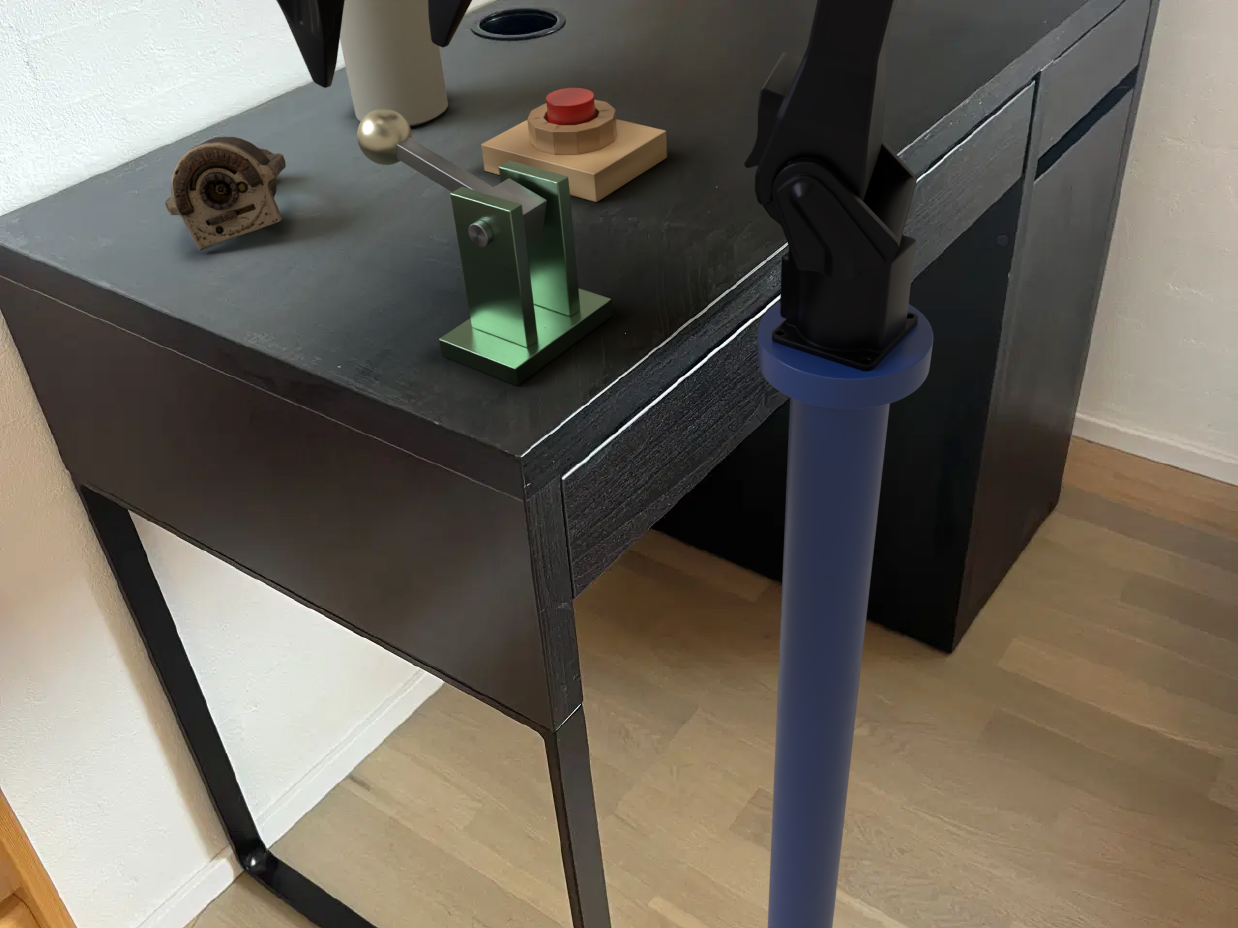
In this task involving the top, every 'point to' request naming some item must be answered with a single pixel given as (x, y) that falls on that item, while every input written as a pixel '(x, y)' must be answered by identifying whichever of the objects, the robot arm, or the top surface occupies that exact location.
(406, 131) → the lever
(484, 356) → the bracket
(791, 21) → the top surface
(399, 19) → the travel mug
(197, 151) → the mechanical counter
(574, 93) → the button
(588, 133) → the button block
